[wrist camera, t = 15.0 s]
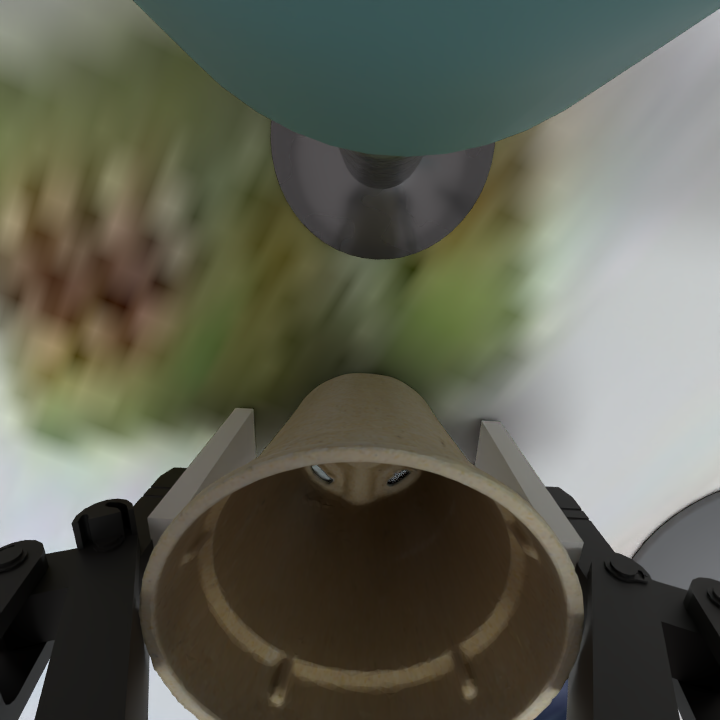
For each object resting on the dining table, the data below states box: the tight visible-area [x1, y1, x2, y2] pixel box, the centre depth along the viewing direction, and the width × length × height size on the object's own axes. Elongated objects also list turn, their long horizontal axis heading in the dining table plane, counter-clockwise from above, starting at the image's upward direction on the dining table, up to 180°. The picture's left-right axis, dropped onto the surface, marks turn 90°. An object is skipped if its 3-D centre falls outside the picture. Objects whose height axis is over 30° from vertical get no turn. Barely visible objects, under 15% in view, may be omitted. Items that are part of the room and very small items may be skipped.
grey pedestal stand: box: [271, 120, 495, 259], centre depth 8 cm, size 7×7×11 cm
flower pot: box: [139, 373, 584, 720], centre depth 12 cm, size 9×9×9 cm
